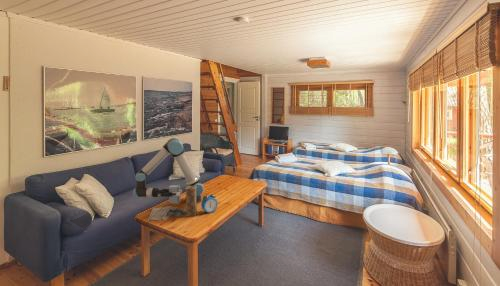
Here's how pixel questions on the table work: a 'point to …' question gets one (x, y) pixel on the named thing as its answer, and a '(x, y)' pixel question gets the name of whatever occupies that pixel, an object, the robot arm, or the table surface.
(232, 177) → the table surface
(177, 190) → the rail end
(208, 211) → the alarm clock
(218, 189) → the table surface
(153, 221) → the table surface
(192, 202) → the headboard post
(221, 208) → the table surface
